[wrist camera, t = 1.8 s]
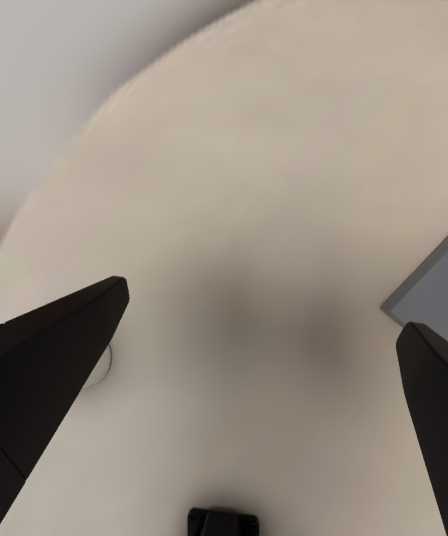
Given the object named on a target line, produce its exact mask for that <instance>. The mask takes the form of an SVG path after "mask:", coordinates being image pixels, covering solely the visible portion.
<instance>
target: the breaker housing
mask: <svg viewBox="0 0 448 536" xmlns="http://www.w3.org/2000/svg"><path fill="white" fill-rule="evenodd" d="M380 308H381V309H382V310H383V311H384V312H386V313H387V314H388V315H389V316H390V317H391V318H393V319H394V320H395V321H396V322H397V323H399V324H400V325H401V326H402V327H403V328H404V326H405V324H406V323H407V322H409V321H412V322H419V323H424V324H426V325H427V326H428V327H430V328H431V329H432V330H434V331H435V332H436V333H438V334H439V335H440V336H441V337H443V338H444V339H445V340H447V341H448V236H447V237H446V239H445V240H444V241H443V242H442V243H441V244H440V245H439V246H438V247H437V248H436V249H435V250H434V251H433V252H432V253H431V254H430V255H429V256H428V257H427V259H426V260H425V261H424V262H423V263H422V264H421V265H420V266H419V267H418V268H417V269H416V270H415V271H414V272H413V273H412V274H411V275H410V276H409V277H408V278H407V280H406V281H405V282H404V283H403V284H402V285H401V286H400V287H399V288H398V289H397V290H396V291H395V292H394V293H393V294H392V295H391V296H390V297H389V298H388V299H387V301H386V302H385V303H384V304H383V305H382V306H381V307H380Z"/></svg>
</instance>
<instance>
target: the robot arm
mask: <svg viewBox="0 0 448 536" xmlns="http://www.w3.org/2000/svg"><path fill="white" fill-rule="evenodd" d="M128 303H129V291H128V286H127V281H126V279H125V278H124V277H119V276H111V277H109V278H107V279H104V280H102V281H100V282H97V283H95V284H93V285H90V286H88V287H86V288H83V289H81V290H79V291H77V292H74V293H72V294H70V295H67V296H65V297H63V298H60V299H58V300H56V301H53V302H51V303H49V304H46V305H44V306H42V307H39V308H37V309H35V310H32V311H30V312H28V313H25V314H23V315H21V316H18V317H16V318H14V319H11V320H9V321H7V322H5V324H3V323H2V324H0V523H1V522H2V520H3V518H4V517H5V515H6V514H7V512H8V510H9V509H10V507H11V505H12V504H13V502H14V500H15V499H16V497H17V495H18V494H19V492H20V490H21V489H22V487H23V485H24V484H25V482H26V479H27V478H28V477H29V475H30V473H31V472H32V470H33V468H34V467H35V465H36V464H37V462H38V460H39V459H40V457H41V455H42V454H43V452H44V450H45V449H46V447H47V445H48V444H49V442H50V440H51V439H52V437H53V435H54V434H55V432H56V430H57V429H58V427H59V425H60V424H61V422H62V421H63V419H64V417H65V416H66V414H67V412H68V411H69V409H70V407H71V406H72V404H73V402H74V401H75V399H76V397H77V396H78V394H79V392H80V391H81V389H82V387H83V386H84V384H85V383H86V381H87V379H88V378H89V376H90V374H91V373H92V371H93V369H94V368H95V366H96V364H97V363H98V361H99V359H100V358H101V356H102V354H103V353H104V351H105V349H106V348H107V346H108V344H109V343H110V341H111V339H112V337H113V335H114V333H115V331H116V329H117V327H118V324H119V322H120V320H121V318H122V316H123V314H124V311H125V309H126V307H127V305H128ZM396 350H397V356H398V361H399V367H400V373H401V378H402V384H403V389H404V394H405V398H406V401H407V405H408V408H409V412H410V415H411V418H412V422H413V425H414V428H415V432H416V435H417V438H418V442H419V445H420V448H421V451H422V455H423V458H424V461H425V465H426V468H427V471H428V475H429V478H430V481H431V485H432V488H433V491H434V495H435V498H436V501H437V505H438V508H439V511H440V515H441V518H442V521H443V525H444V528H445V531H446V534H447V536H448V341H447V340H445V339H444V338H443V337H441V336H440V335H439V334H438V333H436V332H435V331H434V330H432V329H431V328H430V327H428V326H427V325H426V324H424V323H419V322H412V321H409V322H407V323H406V324H405V326H404V328H403V330H402V332H401V333H400V335H399V337H398V339H397V342H396ZM192 516H195V517H192ZM251 523H255V525H253V524H251ZM188 536H259V520H258V519H257V518H256V517H254V516H247V515H239V514H230V513H222V512H214V511H205V510H197V509H192V510H190V511H189V514H188Z"/></svg>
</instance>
